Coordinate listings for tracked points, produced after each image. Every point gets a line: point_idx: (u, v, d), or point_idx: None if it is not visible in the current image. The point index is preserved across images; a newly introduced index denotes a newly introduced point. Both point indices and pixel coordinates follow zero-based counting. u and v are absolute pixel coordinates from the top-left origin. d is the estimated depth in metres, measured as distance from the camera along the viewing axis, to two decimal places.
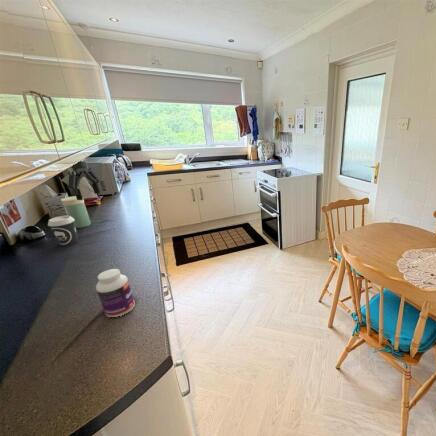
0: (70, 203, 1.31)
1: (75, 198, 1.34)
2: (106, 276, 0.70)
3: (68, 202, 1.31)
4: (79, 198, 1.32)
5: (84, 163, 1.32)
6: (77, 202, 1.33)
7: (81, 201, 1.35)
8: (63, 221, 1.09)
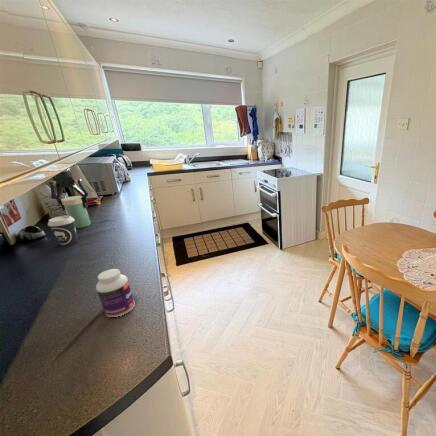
0: (70, 203, 1.31)
1: (75, 198, 1.34)
2: (106, 276, 0.70)
3: (68, 202, 1.31)
4: None
5: (59, 174, 1.26)
6: (77, 202, 1.33)
7: (81, 201, 1.35)
8: (63, 221, 1.09)
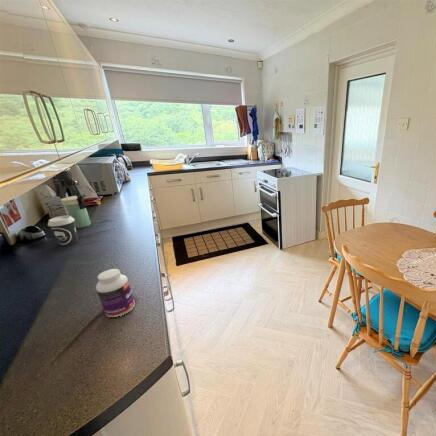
0: None
1: (71, 197, 1.36)
2: (106, 276, 0.70)
3: None
4: (83, 207, 1.36)
5: None
6: None
7: None
8: (63, 221, 1.09)
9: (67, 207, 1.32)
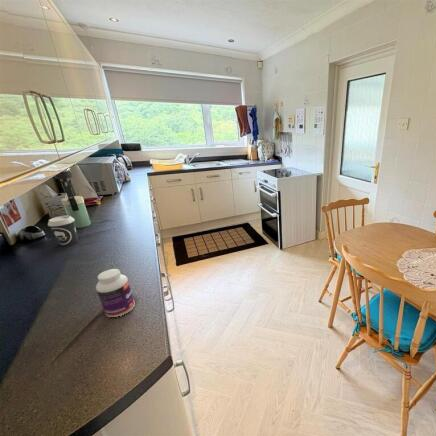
0: (62, 202, 1.32)
1: None
2: (106, 276, 0.70)
3: (61, 201, 1.32)
4: None
5: None
6: (64, 203, 1.31)
7: (68, 203, 1.31)
8: (63, 221, 1.09)
9: (67, 207, 1.32)
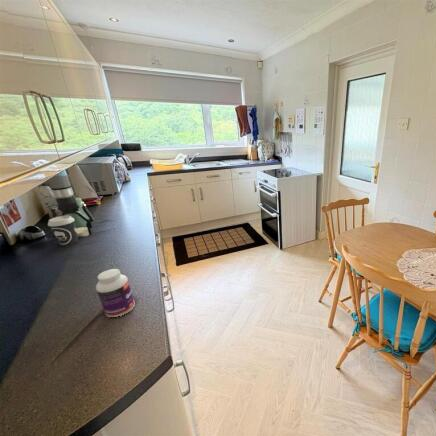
0: None
1: None
2: (106, 276, 0.70)
3: None
4: (91, 231, 1.30)
5: None
6: None
7: None
8: (63, 221, 1.09)
9: None
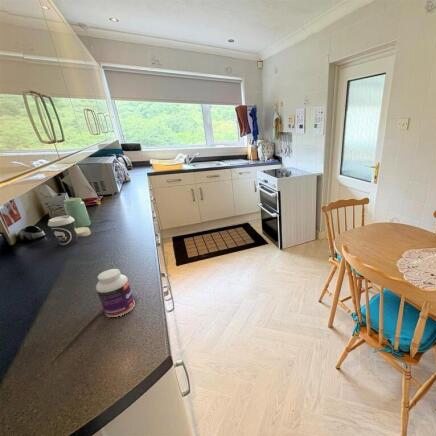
0: None
1: None
2: (106, 276, 0.70)
3: None
4: (68, 168, 1.34)
5: None
6: None
7: None
8: (63, 221, 1.09)
9: (67, 207, 1.32)
